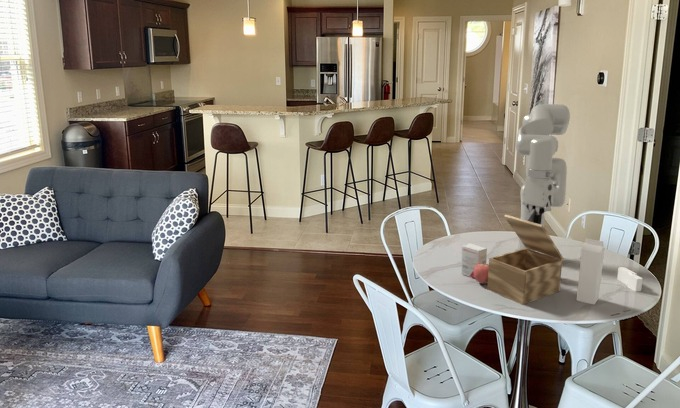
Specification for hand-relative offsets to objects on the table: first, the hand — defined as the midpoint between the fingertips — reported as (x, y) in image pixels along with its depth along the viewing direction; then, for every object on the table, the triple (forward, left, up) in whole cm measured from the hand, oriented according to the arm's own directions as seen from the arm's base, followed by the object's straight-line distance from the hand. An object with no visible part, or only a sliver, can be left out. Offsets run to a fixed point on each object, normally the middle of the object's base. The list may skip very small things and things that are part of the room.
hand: (535, 224), depth 203 cm
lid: (0, 0, -5) cm, 5 cm away
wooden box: (+4, 0, -25) cm, 25 cm away
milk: (-8, +18, -25) cm, 32 cm away
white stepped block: (-32, +19, -25) cm, 45 cm away
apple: (+11, -13, -25) cm, 30 cm away
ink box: (+8, -20, -25) cm, 33 cm away
